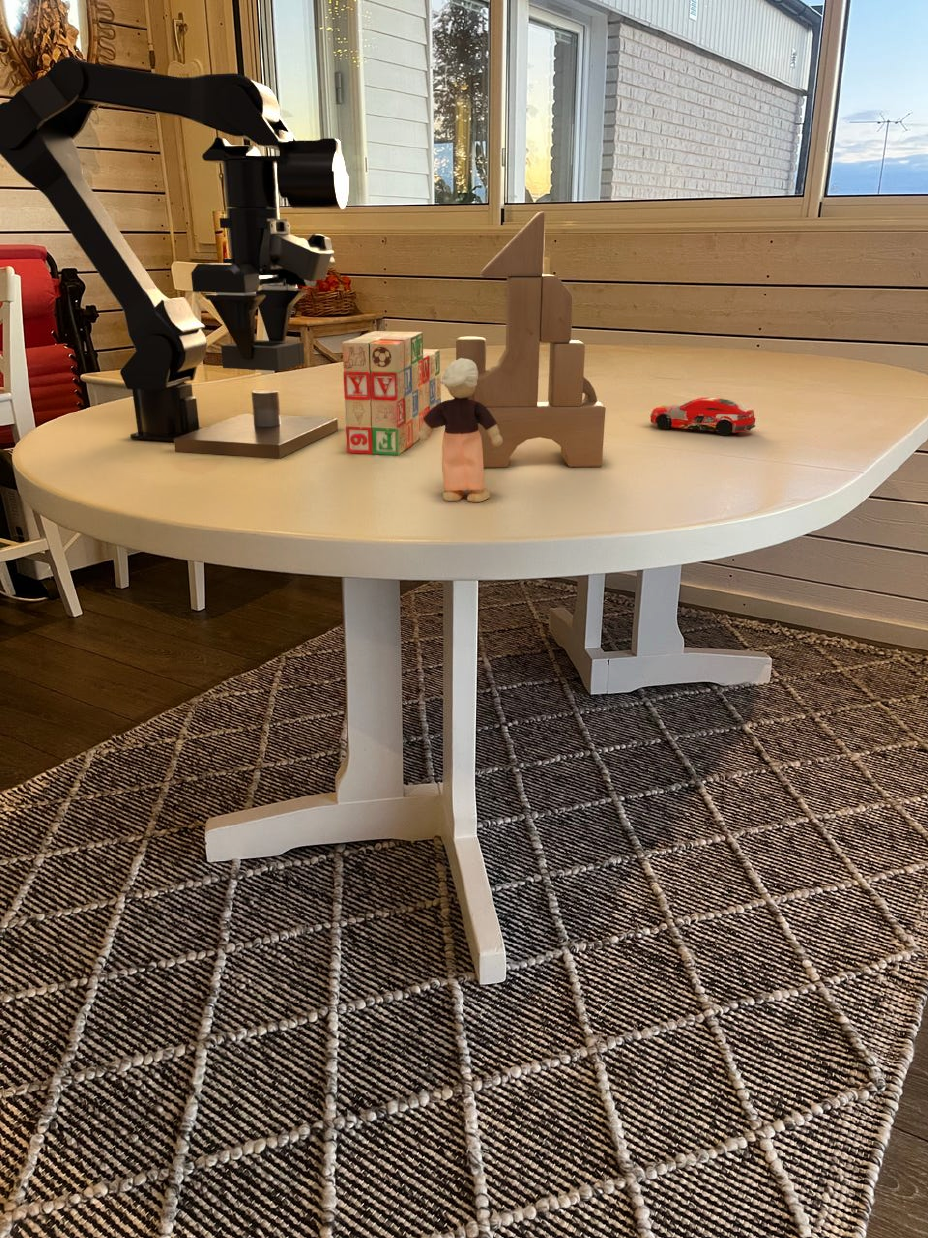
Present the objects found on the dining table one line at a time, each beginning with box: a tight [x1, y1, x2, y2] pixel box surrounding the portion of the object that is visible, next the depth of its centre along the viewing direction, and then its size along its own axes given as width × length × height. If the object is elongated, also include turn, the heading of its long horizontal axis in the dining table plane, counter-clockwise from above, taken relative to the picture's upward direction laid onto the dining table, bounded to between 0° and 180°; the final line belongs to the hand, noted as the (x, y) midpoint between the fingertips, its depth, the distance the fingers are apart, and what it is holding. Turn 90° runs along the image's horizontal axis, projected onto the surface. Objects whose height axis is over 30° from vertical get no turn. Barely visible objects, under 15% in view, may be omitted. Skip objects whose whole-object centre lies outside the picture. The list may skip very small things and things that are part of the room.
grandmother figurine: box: [418, 358, 503, 503], centre depth 84 cm, size 8×4×13 cm, turn 91°
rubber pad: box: [220, 339, 306, 372], centre depth 106 cm, size 7×7×2 cm
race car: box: [649, 396, 756, 437], centre depth 117 cm, size 13×5×4 cm, turn 60°
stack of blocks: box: [341, 330, 442, 456], centre depth 110 cm, size 21×6×12 cm, turn 168°
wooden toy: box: [455, 211, 606, 469], centre depth 96 cm, size 16×7×25 cm, turn 93°
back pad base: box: [173, 388, 339, 459], centre depth 109 cm, size 13×17×6 cm
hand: (263, 355), depth 106 cm, fingers closed on rubber pad, 7 cm apart
